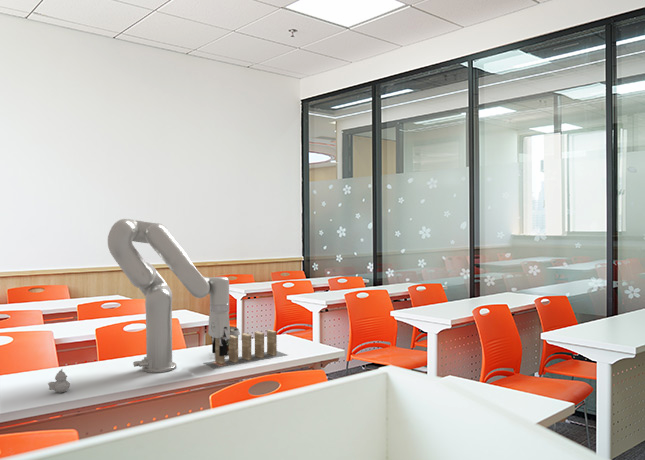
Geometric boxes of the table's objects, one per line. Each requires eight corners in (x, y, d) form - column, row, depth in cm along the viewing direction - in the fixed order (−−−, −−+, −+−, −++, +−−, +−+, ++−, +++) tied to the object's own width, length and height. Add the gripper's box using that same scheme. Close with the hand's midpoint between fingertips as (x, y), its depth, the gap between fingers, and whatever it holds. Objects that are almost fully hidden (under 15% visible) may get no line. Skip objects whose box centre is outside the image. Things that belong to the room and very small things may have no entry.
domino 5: (273, 355, 228) (273, 332, 227) (267, 353, 232) (267, 330, 231) (276, 355, 229) (276, 331, 228) (270, 353, 233) (270, 329, 232)
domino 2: (234, 362, 217) (234, 337, 217) (228, 360, 221) (228, 335, 221) (238, 362, 218) (238, 337, 218) (232, 359, 222) (232, 335, 222)
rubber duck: (71, 392, 181) (71, 368, 181) (49, 396, 177) (49, 371, 177) (68, 388, 186) (68, 365, 185) (47, 392, 182) (46, 368, 182)
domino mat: (213, 369, 209) (213, 368, 209) (202, 364, 217) (202, 362, 217) (288, 355, 229) (288, 354, 229) (275, 351, 237) (275, 350, 237)
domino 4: (260, 358, 224) (260, 333, 224) (254, 355, 228) (254, 331, 228) (264, 357, 225) (264, 333, 225) (258, 355, 229) (257, 331, 229)
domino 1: (221, 364, 213) (221, 338, 213) (215, 361, 217) (215, 336, 217) (224, 363, 214) (224, 338, 214) (218, 361, 218) (218, 336, 218)
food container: (237, 356, 228) (237, 332, 228) (222, 356, 229) (222, 332, 228) (242, 349, 241) (242, 326, 241) (228, 349, 241) (228, 326, 241)
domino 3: (248, 360, 220) (247, 335, 220) (241, 357, 224) (241, 333, 224) (251, 359, 221) (251, 335, 221) (245, 357, 225) (245, 333, 225)
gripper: (201, 306, 220) (201, 351, 220) (220, 312, 206) (220, 360, 206) (218, 304, 224) (218, 348, 225) (238, 310, 211) (238, 357, 211)
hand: (219, 353), depth 216 cm, fingers open, 5 cm apart
